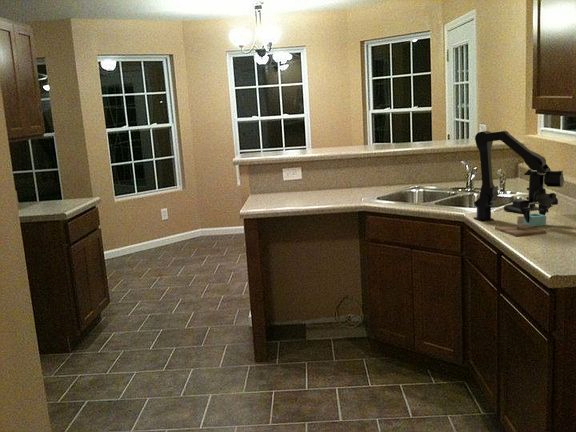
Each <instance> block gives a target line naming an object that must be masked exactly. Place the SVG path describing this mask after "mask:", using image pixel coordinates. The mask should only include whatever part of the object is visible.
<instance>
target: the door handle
mask: <svg viewBox="0 0 576 432" xmlns="http://www.w3.org/2000/svg"><path fill="white" fill-rule="evenodd" d="M530 208H532V209H531V210H530V211H537V210H538V212H539V206H536V204H533V205H530ZM503 211H504V212H510V213H515V214H521V215H523V213H522V211H521V210H520V208H518V207H515V206H513V203H511V204H507V205H504V206H503ZM546 213H549V209H548V210H547V212H546Z"/></svg>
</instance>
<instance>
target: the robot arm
mask: <svg viewBox="0 0 576 432" xmlns="http://www.w3.org/2000/svg"><path fill="white" fill-rule="evenodd" d="M474 140H475V141H474V142H475V145H476V148H477V150H478V152H479V160H480V173H481V182H482V183H481V187H480V190H479V198H478V199H476V200H475V201H474V202H473V204H474V207H475V208H476V217H475V216H474V217H473V219H474V220H477V221H479V222H485V221H494V218H492V207H491V206H492V205H493V204H494V202H495V201H496V200H497V199H498V197H499V195H500V194H499V186H495V184H494V181H493V180H494V179H493V167H492V165H493V164H492V153H491V151H492V147H493V143H494V142H495V141H496V142H497V141H501V142H502V143H504V144H505V145H506V146H507V147H509V149H510V150H512V151H513V152H514V153H516V154H517V155H518V156H519V157H521V158H522V160H523V162H524V164H526V165H527V167H528V168H529V169H527V171H526V172H525V173H524V174H523V175H524V176H528V179H529V180H528V187H526V191H528V196H526V199H523V198H517V199H513V201H512V204H513V206H515V207H518V208H520V210H521V211H522V213H523V214H522V215H523V216H524V218H525V220H526V222H527V223H529V218H530V214H531V211H532V210H531V209H532V208H530V205H533V204H535V205H538V207H539V211H538V214H541V215H545V216H546V214H547V213H548V212H547V210H548V211H549V210H550V209H551V208H552V207H554V206H556V205H559V199H558V198H557V194H556V192H550V193H546V192H547V191H546V190H547V189H546V188H544V185H545V186H546V187H548V188H563V186H564V183H565V178H564V171H563V170H551V168H550V167H549V165H548V164H547V159H546V157H544V156H543V155H541V154H539V153H537V152H535V151H533V150H530V149H529V148H528V147H527V146H526V145H525V144H523V143H521V141H520V140H518V139H517V138H515V137H514V136H513V135H511V133H510V132H509V131H507V130H502V131H501V130H500V131H495V132H494V131H493V132H491V131H490V130H483V131H482V130H481V131H478V132H477V134H475V137H474Z"/></svg>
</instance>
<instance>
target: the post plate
mask: <svg viewBox="0 0 576 432" xmlns="http://www.w3.org/2000/svg"><path fill="white" fill-rule="evenodd" d="M516 219H517V220H516V224H513V225H512V224H511V225H502V226H495V227H494V230H495V231H499V232H500V233H501V232H502V233H505V234H508V235H509V236H512V237H523V236H533V235H534V236H535V235H541V234H542V235H543V234H547V230H544V229H541V228H538V227H536V226H530V225H527V224H523V223H524V217H523V216H520V215H519V216H517V218H516Z"/></svg>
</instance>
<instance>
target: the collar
mask: <svg viewBox="0 0 576 432" xmlns="http://www.w3.org/2000/svg"><path fill="white" fill-rule="evenodd" d="M522 217H524V215H523V216H522ZM523 224H525V225H529V226H532V227H539V226H546V225H547V216H546V214H545V215H541V214H539V212H538V213H537V212H535V213H530V218H529V223H527V222H526V220H525V218H524V223H523Z"/></svg>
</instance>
